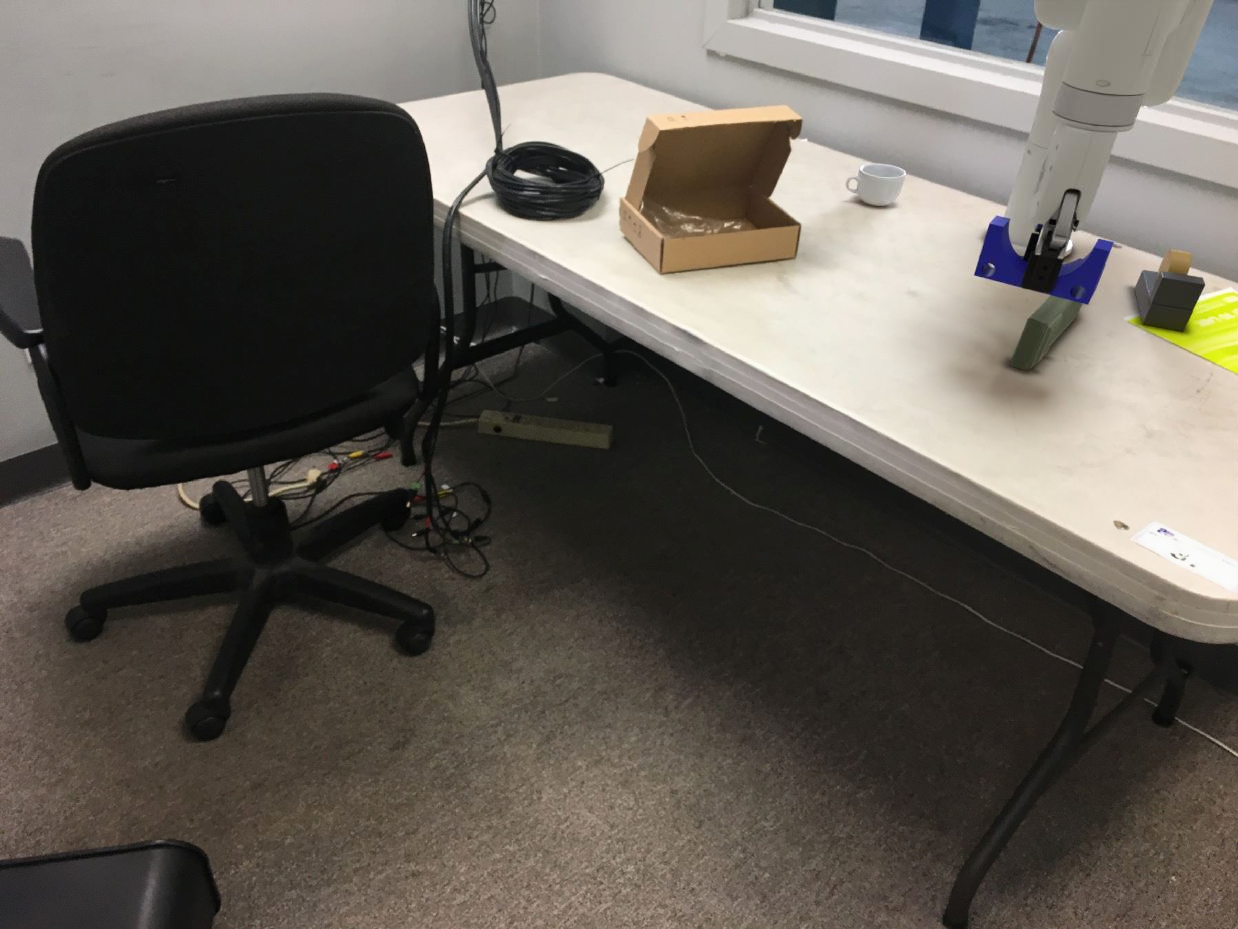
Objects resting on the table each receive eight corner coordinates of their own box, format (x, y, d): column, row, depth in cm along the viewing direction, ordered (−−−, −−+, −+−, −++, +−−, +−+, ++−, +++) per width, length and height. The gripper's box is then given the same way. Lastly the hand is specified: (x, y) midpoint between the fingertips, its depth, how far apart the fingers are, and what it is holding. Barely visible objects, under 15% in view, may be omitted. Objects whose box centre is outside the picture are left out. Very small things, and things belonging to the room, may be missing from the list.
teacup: (888, 193, 154) (895, 162, 151) (906, 209, 148) (913, 177, 145) (835, 194, 153) (840, 163, 149) (850, 210, 147) (856, 178, 143)
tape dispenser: (1134, 288, 125) (1156, 235, 120) (1172, 295, 124) (1196, 242, 119) (1142, 324, 116) (1167, 268, 111) (1183, 331, 115) (1210, 275, 110)
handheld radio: (1005, 363, 106) (1067, 297, 122) (1031, 373, 105) (1091, 305, 120) (1024, 315, 102) (1086, 253, 118) (1052, 325, 100) (1111, 260, 116)
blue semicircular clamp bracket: (1095, 290, 94) (1116, 237, 91) (1088, 304, 91) (1109, 251, 88) (984, 262, 100) (999, 211, 96) (973, 275, 97) (989, 223, 93)
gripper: (1053, 82, 92) (1001, 246, 102) (1057, 122, 79) (997, 304, 90) (1130, 91, 90) (1069, 257, 100) (1147, 134, 77) (1075, 319, 88)
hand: (1036, 277), depth 95 cm, fingers closed on blue semicircular clamp bracket, 4 cm apart
